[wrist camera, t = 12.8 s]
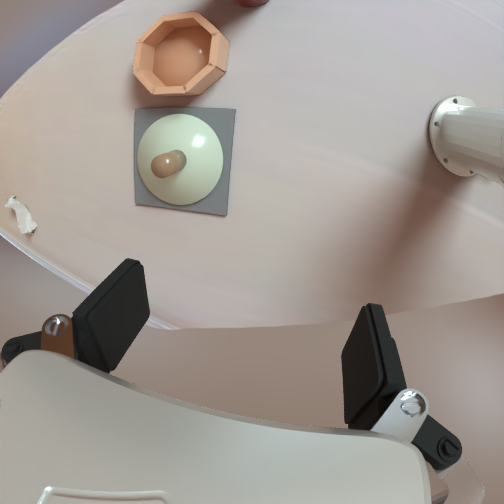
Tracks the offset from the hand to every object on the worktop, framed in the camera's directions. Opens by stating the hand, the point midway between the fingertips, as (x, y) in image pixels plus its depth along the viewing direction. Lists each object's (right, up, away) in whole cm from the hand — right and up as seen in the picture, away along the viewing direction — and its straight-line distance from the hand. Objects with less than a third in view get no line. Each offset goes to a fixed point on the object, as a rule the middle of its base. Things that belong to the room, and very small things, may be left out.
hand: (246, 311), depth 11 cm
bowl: (-9, +30, +20) cm, 38 cm away
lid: (-11, +16, +27) cm, 33 cm away
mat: (-11, +16, +28) cm, 34 cm away
